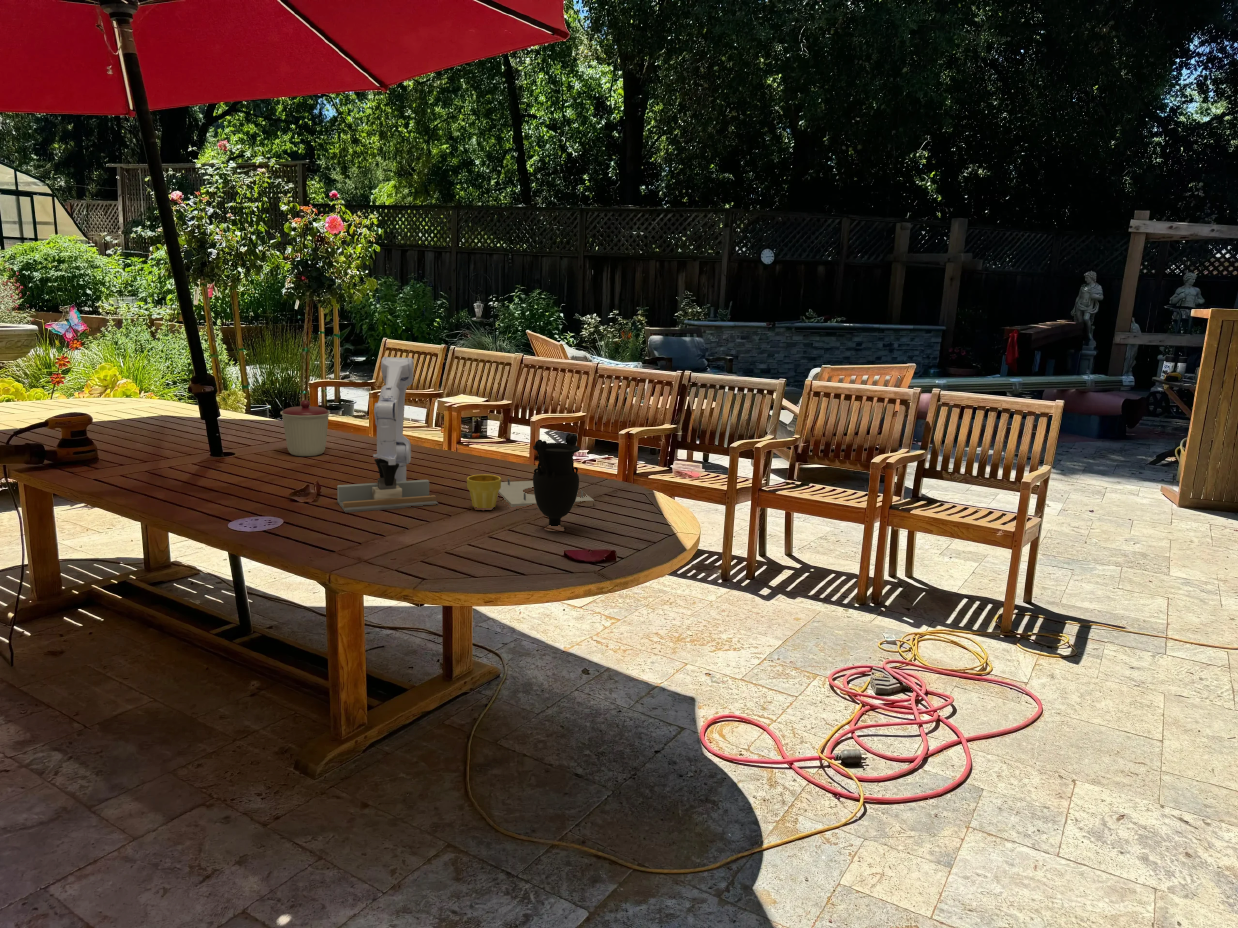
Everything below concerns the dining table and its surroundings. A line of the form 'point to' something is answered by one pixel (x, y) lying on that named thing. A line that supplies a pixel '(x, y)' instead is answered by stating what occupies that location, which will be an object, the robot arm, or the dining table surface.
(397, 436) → the robot arm
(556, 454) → the urn
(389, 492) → the cabinet block
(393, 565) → the dining table surface
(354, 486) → the wall board
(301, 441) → the canister
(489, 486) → the plant pot
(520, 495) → the mounting panel
